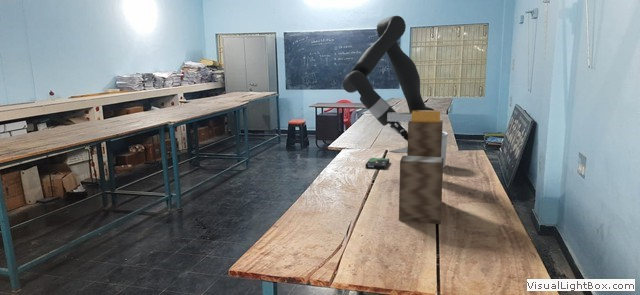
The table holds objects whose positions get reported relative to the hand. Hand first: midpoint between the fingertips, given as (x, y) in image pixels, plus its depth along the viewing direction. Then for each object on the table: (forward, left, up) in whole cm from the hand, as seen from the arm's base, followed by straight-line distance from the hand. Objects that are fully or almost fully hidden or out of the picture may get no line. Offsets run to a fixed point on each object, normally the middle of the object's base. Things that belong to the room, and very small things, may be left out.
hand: (410, 140), depth 169 cm
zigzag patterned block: (+8, +18, -23) cm, 30 cm away
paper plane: (-50, -65, -23) cm, 85 cm away
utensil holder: (-37, -30, -23) cm, 53 cm away
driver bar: (+6, +9, +9) cm, 14 cm away
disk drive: (-14, -45, -23) cm, 52 cm away
